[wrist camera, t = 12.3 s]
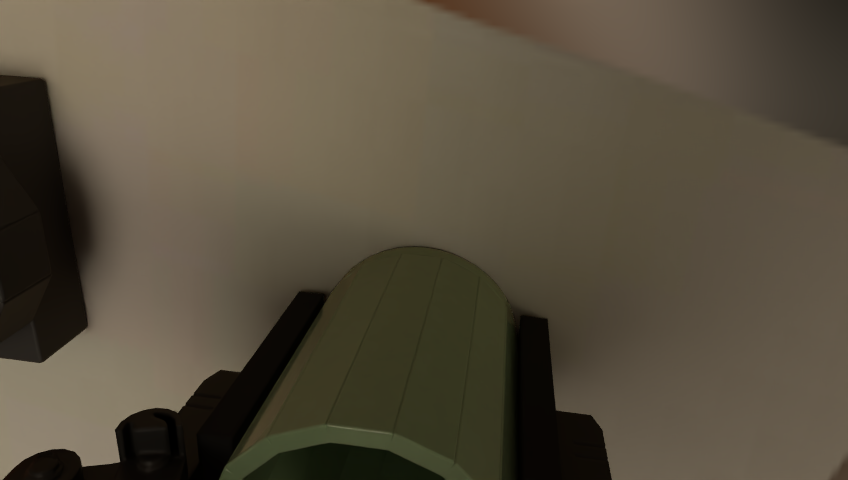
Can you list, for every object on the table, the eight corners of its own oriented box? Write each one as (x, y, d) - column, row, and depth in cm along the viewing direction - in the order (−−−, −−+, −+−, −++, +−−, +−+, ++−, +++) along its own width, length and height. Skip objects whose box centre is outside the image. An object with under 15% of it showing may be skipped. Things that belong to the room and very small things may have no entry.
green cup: (527, 256, 17) (534, 451, 10) (506, 425, 20) (500, 687, 12) (325, 236, 18) (193, 406, 11) (327, 402, 20) (218, 637, 13)
